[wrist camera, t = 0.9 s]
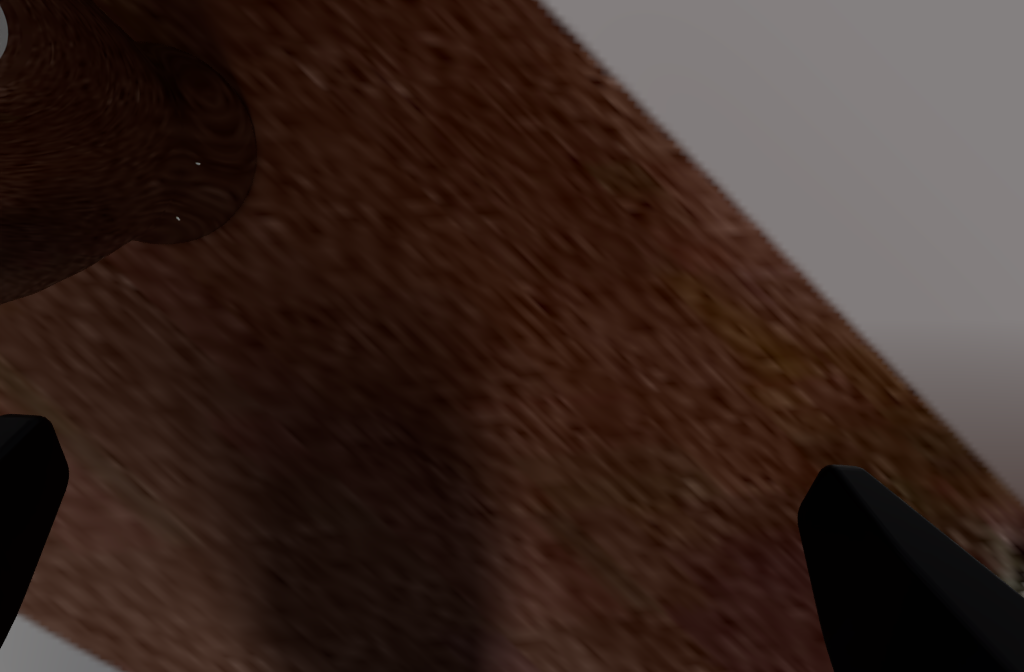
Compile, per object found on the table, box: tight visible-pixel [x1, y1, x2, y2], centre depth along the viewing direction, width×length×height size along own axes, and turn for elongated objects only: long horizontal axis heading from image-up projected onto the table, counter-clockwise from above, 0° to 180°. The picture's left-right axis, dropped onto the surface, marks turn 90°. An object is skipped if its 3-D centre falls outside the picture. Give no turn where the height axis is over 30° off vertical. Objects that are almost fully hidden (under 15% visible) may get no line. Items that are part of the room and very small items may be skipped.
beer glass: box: [0, 0, 257, 305], centre depth 14 cm, size 7×7×15 cm
